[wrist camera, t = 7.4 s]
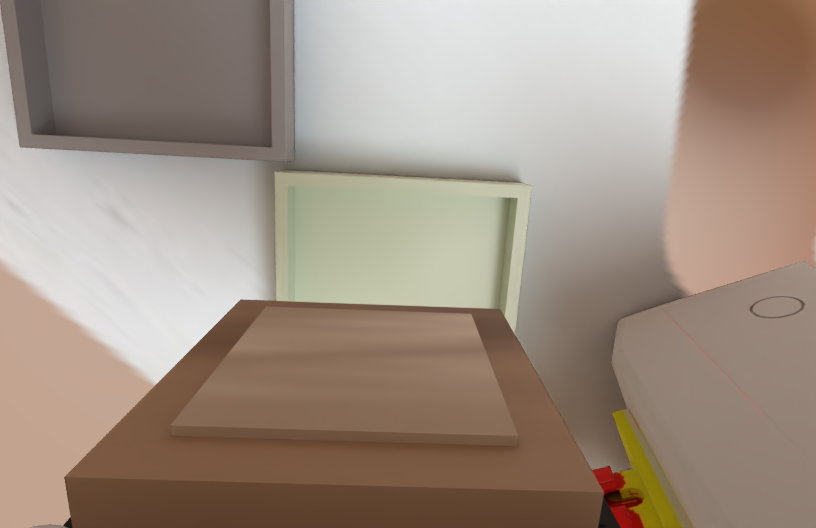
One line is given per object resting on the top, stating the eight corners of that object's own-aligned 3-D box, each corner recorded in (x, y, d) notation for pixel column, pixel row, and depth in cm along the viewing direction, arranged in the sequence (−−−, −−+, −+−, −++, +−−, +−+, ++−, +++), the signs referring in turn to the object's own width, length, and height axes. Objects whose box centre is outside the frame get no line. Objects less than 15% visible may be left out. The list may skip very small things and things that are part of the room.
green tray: (284, 169, 24) (274, 172, 22) (521, 182, 25) (532, 185, 23) (286, 386, 27) (277, 405, 25) (498, 395, 28) (505, 414, 26)
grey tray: (16, -137, 21) (-23, -166, 19) (294, -118, 21) (282, -145, 19) (51, 146, 24) (19, 147, 22) (294, 160, 24) (285, 161, 22)
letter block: (240, 293, 11) (53, 474, 5) (500, 302, 11) (611, 490, 5) (251, 517, 13) (116, 855, 7) (479, 523, 13) (546, 859, 7)
